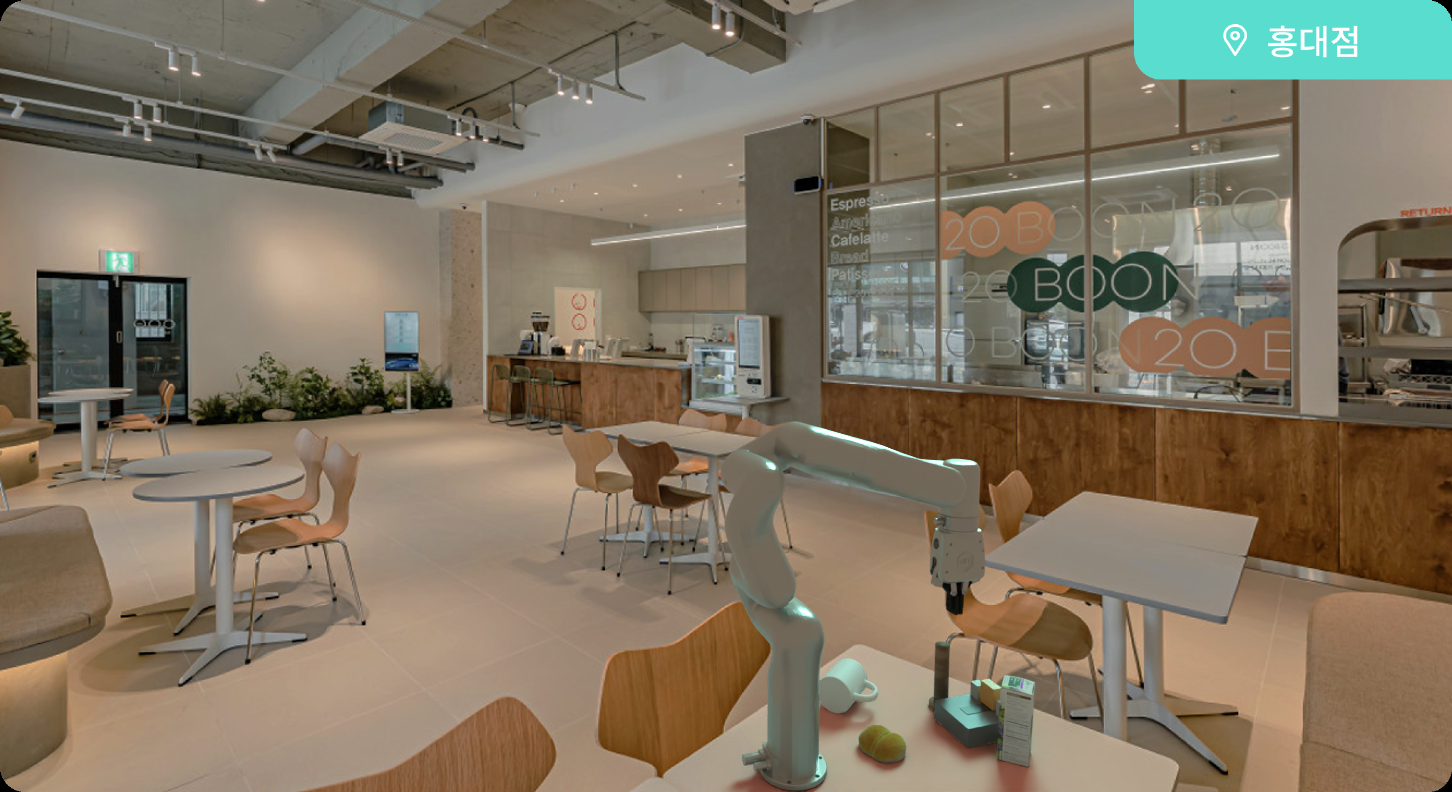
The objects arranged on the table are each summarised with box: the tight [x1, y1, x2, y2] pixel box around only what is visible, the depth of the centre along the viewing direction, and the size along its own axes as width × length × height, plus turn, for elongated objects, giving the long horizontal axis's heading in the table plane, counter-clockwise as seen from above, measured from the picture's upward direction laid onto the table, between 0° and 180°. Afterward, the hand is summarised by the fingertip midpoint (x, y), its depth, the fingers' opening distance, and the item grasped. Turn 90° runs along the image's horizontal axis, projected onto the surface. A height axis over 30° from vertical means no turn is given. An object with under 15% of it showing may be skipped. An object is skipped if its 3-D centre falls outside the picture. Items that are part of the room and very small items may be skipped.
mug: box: [819, 658, 879, 714], centre depth 150 cm, size 12×10×8 cm
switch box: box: [933, 679, 1000, 749], centre depth 141 cm, size 14×11×7 cm
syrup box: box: [996, 674, 1036, 768], centre depth 131 cm, size 6×6×14 cm
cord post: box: [928, 641, 951, 712], centre depth 148 cm, size 5×5×14 cm
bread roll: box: [858, 724, 907, 764], centre depth 134 cm, size 8×9×4 cm
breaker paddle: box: [980, 678, 1001, 711], centre depth 142 cm, size 2×4×4 cm, turn 18°
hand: (954, 612), depth 137 cm, fingers closed
